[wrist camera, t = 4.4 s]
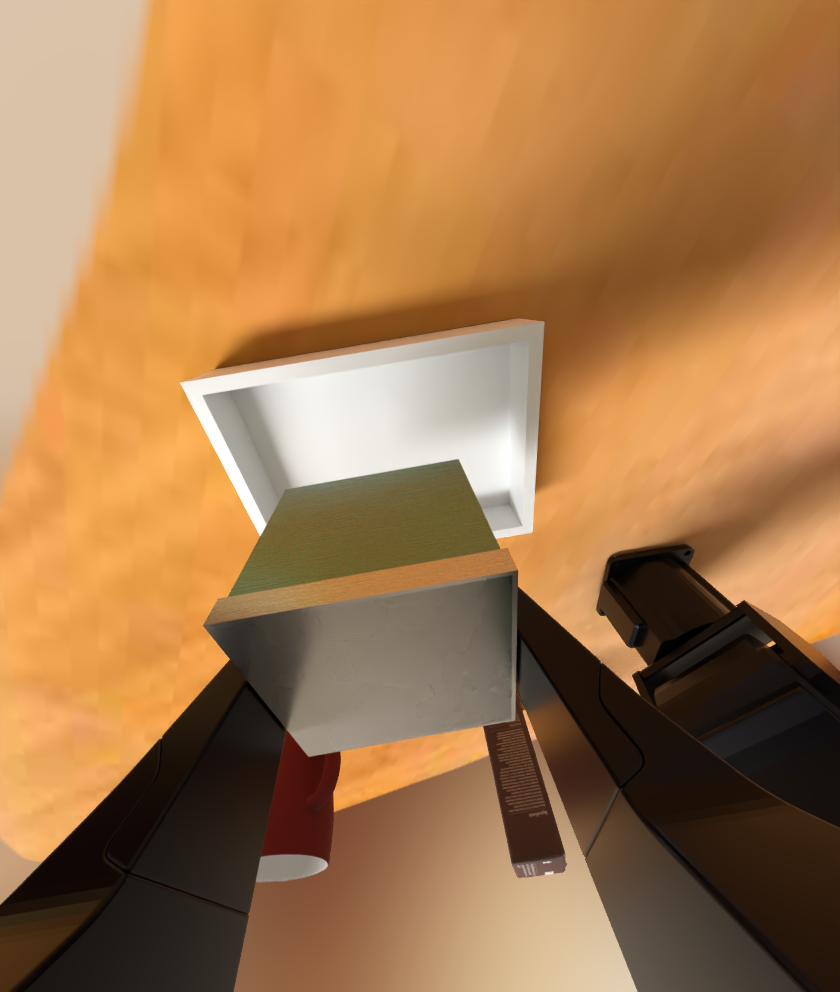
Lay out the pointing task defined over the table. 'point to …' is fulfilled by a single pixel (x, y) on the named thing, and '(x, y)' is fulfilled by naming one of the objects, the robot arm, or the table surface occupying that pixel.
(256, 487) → the tote
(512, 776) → the box
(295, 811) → the mug
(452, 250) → the table surface
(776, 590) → the table surface
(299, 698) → the tin
